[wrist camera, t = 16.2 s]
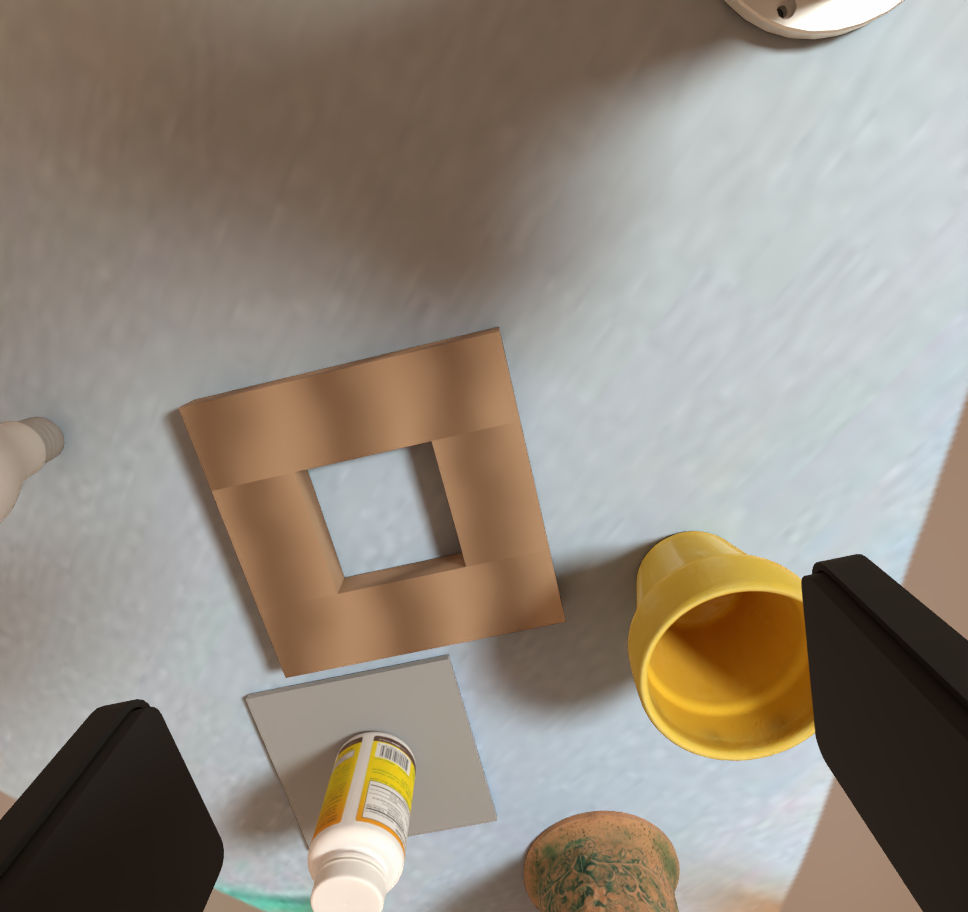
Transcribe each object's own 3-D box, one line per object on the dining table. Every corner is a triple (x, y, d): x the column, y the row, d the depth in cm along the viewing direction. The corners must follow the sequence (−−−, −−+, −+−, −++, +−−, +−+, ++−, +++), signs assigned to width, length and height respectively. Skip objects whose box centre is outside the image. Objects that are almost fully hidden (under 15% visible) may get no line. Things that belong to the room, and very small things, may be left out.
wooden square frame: (498, 326, 35) (499, 331, 33) (562, 604, 41) (565, 621, 39) (194, 399, 37) (178, 408, 35) (294, 658, 42) (285, 677, 40)
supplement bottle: (340, 791, 45) (299, 941, 35) (334, 726, 43) (288, 866, 34) (419, 791, 45) (400, 941, 35) (416, 726, 43) (394, 866, 33)
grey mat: (448, 654, 42) (448, 659, 41) (496, 814, 46) (496, 820, 46) (248, 694, 43) (245, 699, 43) (313, 847, 47) (311, 853, 47)
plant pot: (590, 638, 42) (619, 752, 32) (622, 492, 38) (664, 571, 29) (745, 657, 42) (818, 775, 33) (790, 514, 39) (885, 598, 29)
